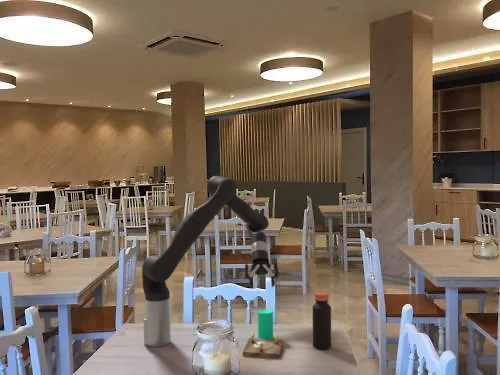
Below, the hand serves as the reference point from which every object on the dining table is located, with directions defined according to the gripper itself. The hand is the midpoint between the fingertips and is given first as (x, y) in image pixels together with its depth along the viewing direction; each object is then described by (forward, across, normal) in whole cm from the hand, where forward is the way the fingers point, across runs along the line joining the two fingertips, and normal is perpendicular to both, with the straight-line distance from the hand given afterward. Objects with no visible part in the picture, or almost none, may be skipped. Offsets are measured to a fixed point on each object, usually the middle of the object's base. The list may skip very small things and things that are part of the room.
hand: (262, 286), depth 187 cm
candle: (+21, 0, +4) cm, 21 cm away
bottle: (+28, +20, -4) cm, 35 cm away
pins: (+29, -2, -7) cm, 29 cm away
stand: (+29, -2, -5) cm, 29 cm away
